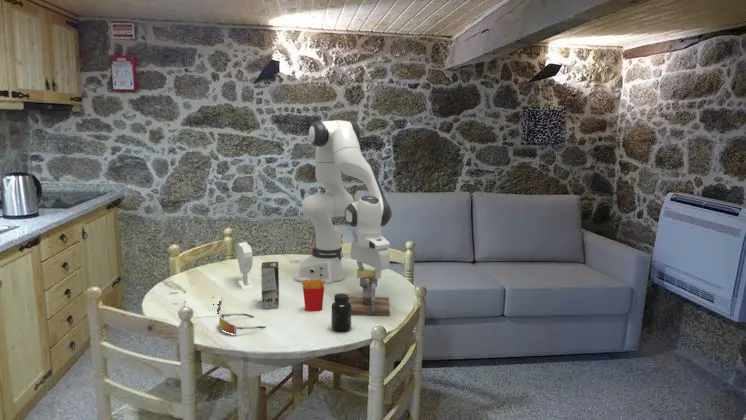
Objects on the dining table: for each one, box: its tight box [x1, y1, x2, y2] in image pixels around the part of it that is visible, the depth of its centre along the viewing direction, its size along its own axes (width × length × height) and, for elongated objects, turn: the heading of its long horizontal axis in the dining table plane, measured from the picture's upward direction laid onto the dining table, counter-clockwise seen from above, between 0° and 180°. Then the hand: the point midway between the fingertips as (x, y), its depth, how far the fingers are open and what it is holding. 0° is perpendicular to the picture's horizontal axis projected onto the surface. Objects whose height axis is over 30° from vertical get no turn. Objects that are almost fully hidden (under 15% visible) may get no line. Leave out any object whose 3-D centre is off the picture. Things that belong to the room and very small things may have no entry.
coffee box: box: [260, 261, 280, 310], centre depth 192 cm, size 9×6×16 cm
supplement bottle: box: [330, 293, 352, 333], centre depth 171 cm, size 7×7×12 cm
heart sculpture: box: [236, 241, 253, 286], centre depth 214 cm, size 16×5×18 cm, turn 26°
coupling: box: [356, 268, 382, 290], centre depth 187 cm, size 9×10×6 cm
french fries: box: [301, 279, 325, 312], centre depth 188 cm, size 8×4×12 cm, turn 99°
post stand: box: [348, 282, 391, 317], centre depth 190 cm, size 14×16×12 cm
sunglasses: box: [218, 312, 268, 335], centre depth 172 cm, size 14×15×5 cm
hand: (368, 275), depth 189 cm, fingers open, 8 cm apart
